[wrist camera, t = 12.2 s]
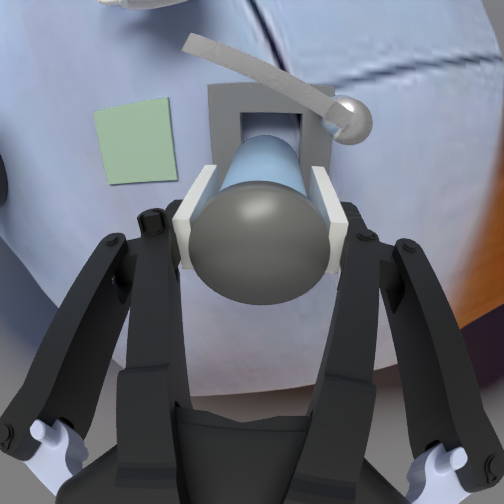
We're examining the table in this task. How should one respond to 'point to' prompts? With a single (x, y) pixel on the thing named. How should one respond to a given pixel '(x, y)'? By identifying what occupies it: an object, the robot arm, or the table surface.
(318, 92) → the lever
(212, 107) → the socket
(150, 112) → the mat
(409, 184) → the table surface
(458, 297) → the table surface
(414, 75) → the table surface
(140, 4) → the mug
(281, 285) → the plug
